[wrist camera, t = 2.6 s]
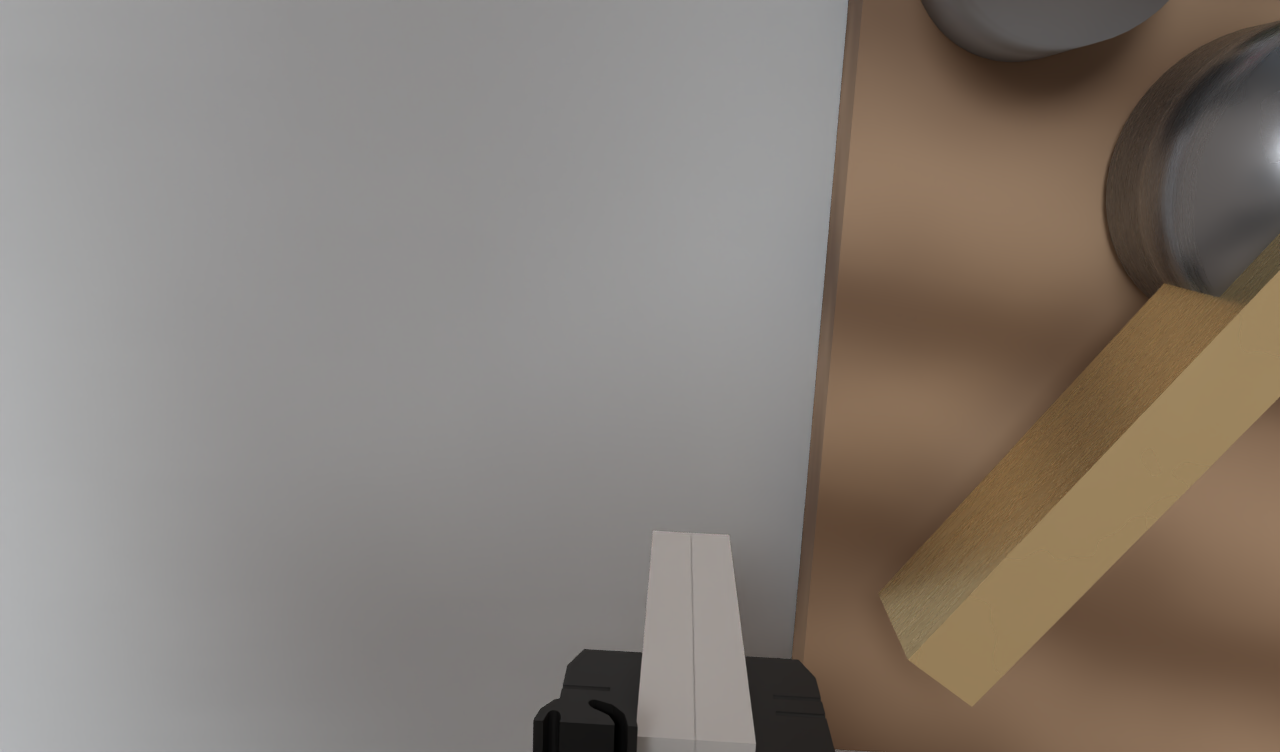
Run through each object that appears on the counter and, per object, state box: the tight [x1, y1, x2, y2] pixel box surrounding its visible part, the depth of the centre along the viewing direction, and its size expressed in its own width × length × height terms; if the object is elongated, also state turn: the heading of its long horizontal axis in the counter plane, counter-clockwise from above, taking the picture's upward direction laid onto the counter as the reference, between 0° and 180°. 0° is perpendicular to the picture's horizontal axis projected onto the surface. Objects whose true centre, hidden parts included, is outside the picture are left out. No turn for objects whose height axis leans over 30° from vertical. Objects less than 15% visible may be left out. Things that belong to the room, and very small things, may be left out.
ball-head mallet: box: [878, 20, 1280, 707], centre depth 20 cm, size 16×7×5 cm, turn 143°
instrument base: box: [792, 0, 1280, 752], centre depth 22 cm, size 24×19×5 cm
